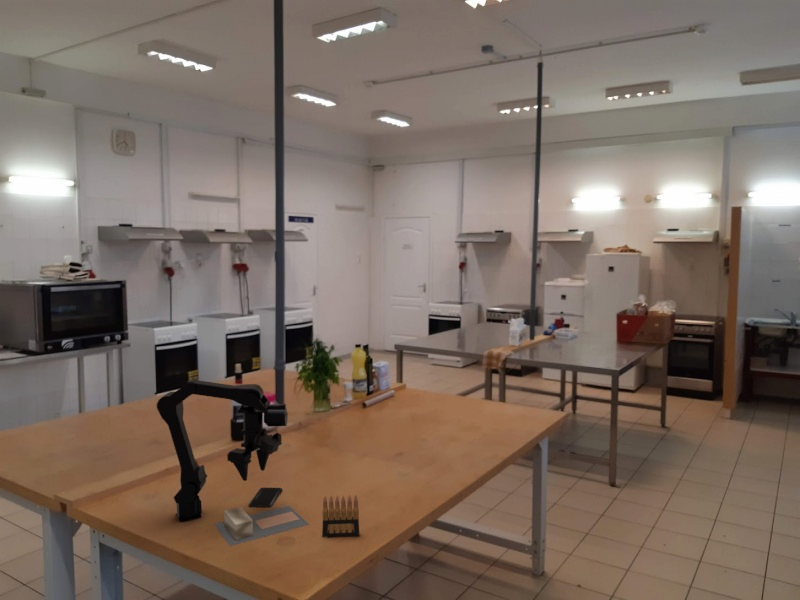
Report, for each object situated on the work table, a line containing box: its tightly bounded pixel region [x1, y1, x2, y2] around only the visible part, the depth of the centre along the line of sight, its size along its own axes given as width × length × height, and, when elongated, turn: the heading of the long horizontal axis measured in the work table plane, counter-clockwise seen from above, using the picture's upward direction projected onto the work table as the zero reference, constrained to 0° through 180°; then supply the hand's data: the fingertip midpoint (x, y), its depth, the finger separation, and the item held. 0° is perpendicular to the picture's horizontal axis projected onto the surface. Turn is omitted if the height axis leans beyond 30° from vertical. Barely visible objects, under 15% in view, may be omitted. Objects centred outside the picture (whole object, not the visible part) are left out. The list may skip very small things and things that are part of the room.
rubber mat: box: [213, 505, 310, 547], centre depth 182 cm, size 24×16×1 cm, turn 123°
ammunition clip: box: [321, 494, 360, 539], centre depth 175 cm, size 11×2×12 cm, turn 93°
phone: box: [248, 487, 283, 509], centre depth 202 cm, size 8×1×15 cm
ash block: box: [223, 506, 253, 540], centre depth 178 cm, size 5×11×4 cm, turn 33°
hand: (253, 475), depth 188 cm, fingers open, 9 cm apart
